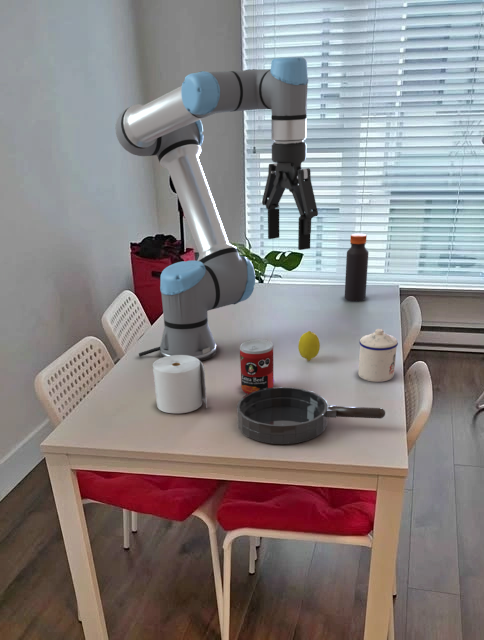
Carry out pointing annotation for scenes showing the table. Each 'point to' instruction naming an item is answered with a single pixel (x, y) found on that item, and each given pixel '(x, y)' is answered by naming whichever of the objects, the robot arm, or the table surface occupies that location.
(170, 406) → the toilet tissue
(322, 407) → the frying pan
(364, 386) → the table surface
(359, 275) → the bottle
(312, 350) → the lemon
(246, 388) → the canned food
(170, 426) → the table surface
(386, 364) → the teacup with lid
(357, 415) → the pan handle
